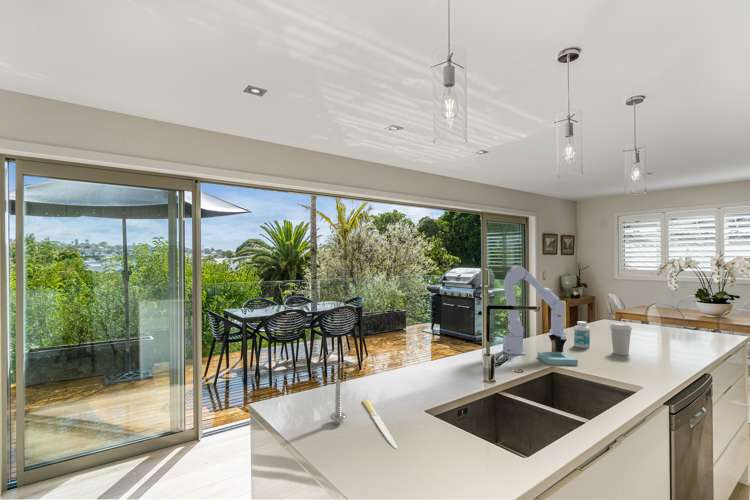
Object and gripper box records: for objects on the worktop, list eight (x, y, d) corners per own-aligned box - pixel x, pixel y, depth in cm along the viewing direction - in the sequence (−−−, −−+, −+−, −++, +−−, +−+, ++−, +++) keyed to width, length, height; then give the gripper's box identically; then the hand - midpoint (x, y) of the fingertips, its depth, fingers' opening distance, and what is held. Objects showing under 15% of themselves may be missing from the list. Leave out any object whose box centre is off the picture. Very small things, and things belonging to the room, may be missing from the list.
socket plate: (548, 364, 172) (548, 359, 172) (537, 356, 185) (537, 351, 185) (577, 365, 172) (577, 359, 172) (564, 357, 185) (564, 352, 185)
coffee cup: (613, 355, 189) (612, 325, 189) (607, 350, 198) (607, 321, 198) (635, 356, 186) (635, 326, 186) (628, 351, 195) (628, 322, 195)
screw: (326, 423, 113) (338, 417, 117) (338, 428, 110) (349, 422, 114) (326, 379, 113) (338, 375, 117) (338, 383, 110) (349, 379, 114)
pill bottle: (571, 345, 207) (571, 321, 207) (580, 344, 210) (580, 320, 211) (583, 349, 201) (583, 323, 201) (592, 347, 204) (592, 322, 204)
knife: (407, 451, 99) (391, 451, 98) (373, 402, 131) (361, 401, 130) (408, 446, 99) (391, 445, 98) (374, 398, 131) (361, 397, 130)
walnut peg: (555, 355, 188) (555, 341, 188) (551, 353, 192) (551, 339, 192) (563, 355, 188) (563, 341, 188) (559, 353, 192) (559, 339, 192)
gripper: (572, 326, 182) (572, 354, 182) (559, 321, 197) (559, 347, 197) (557, 326, 183) (557, 354, 183) (545, 320, 197) (545, 346, 197)
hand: (557, 350), depth 190 cm, fingers closed on walnut peg, 4 cm apart
